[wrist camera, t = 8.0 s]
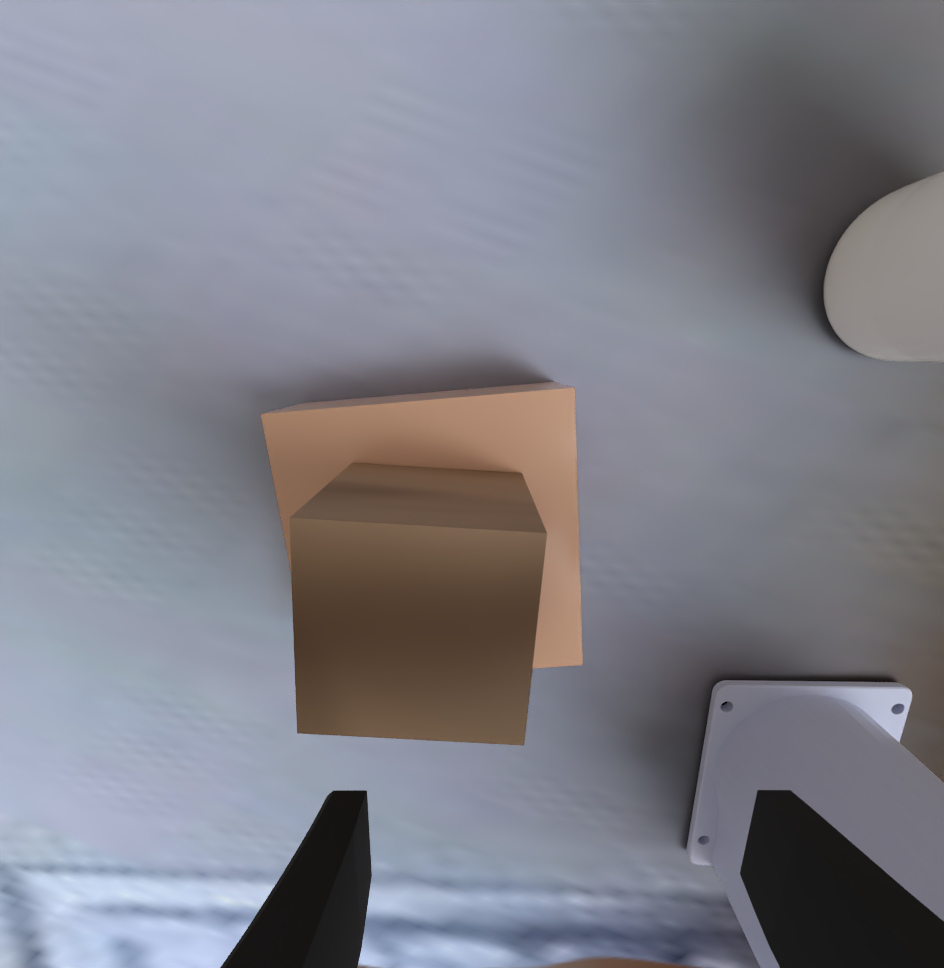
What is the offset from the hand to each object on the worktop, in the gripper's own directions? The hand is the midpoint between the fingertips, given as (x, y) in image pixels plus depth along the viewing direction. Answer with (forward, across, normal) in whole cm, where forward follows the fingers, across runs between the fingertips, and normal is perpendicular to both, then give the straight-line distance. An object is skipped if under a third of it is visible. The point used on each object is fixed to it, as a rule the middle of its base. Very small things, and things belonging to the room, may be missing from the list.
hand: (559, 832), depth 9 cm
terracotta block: (+11, +3, -3) cm, 12 cm away
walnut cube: (+7, +3, -3) cm, 8 cm away
